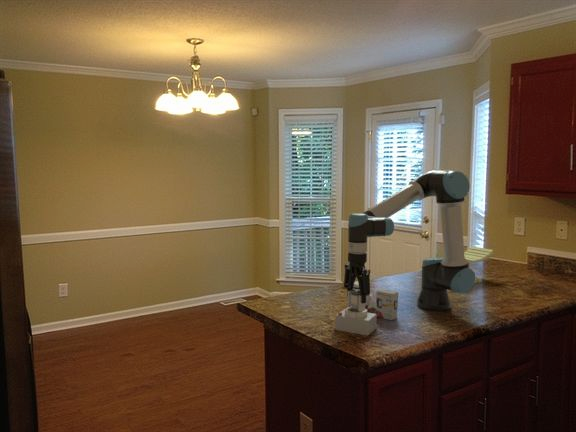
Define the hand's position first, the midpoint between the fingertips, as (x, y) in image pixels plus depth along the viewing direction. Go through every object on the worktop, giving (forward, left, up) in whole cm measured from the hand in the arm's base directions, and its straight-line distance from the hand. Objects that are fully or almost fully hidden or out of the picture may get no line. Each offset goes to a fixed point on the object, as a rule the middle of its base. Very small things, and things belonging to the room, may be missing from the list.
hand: (356, 308), depth 198 cm
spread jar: (+8, -30, -9) cm, 32 cm away
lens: (0, 0, -3) cm, 3 cm away
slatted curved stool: (-23, -111, -9) cm, 114 cm away
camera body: (0, 0, -9) cm, 9 cm away
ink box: (-6, -21, -9) cm, 24 cm away
